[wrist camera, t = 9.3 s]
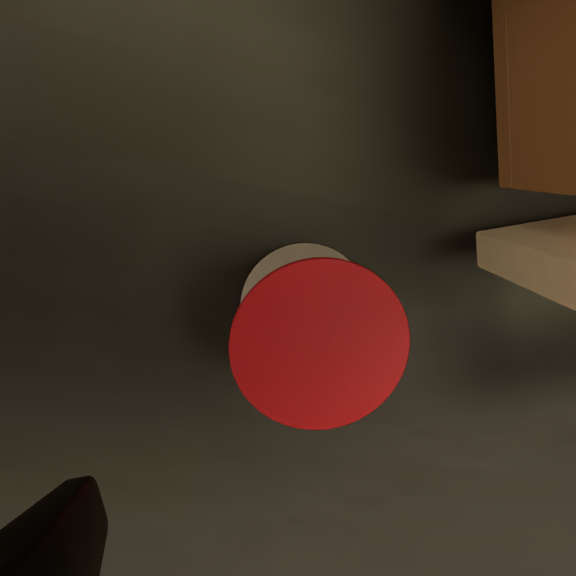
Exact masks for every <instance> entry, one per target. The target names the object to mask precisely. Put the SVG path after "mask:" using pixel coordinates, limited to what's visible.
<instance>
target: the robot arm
mask: <svg viewBox="0 0 576 576" xmlns="http://www.w3.org/2000/svg"><path fill="white" fill-rule="evenodd" d="M107 531H108V520H107V515H106V511H105V508H104V505H103V501H102V498H101V495H100V491H99V488H98V485H97V482H96V480H95V479H94V478H93V477H92V476H84V477H78V478H73V479H69V480H66V481H65V482H63V483H62V484H61V485H59V486H58V487H57V488H55V489H54V490H53V491H51V492H50V493H49V494H47V495H46V496H45V497H43V498H42V499H41V500H39V501H38V502H37V503H35V504H34V505H33V506H31V507H30V508H29V509H27V510H26V511H25V512H23V513H22V514H21V515H19V516H18V517H17V518H15V519H14V520H13V521H11V522H10V523H9V524H7V525H6V526H5V527H3V528H2V529H1V530H0V576H99V575H100V570H101V564H102V559H103V553H104V548H105V542H106V537H107Z"/></svg>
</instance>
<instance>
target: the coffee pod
mask: <svg viewBox="0 0 576 576" xmlns="http://www.w3.org/2000/svg"><path fill="white" fill-rule="evenodd" d="M409 348H410V332H409V325H408V321H407V317H406V314H405V311H404V308H403V306H402V304H401V303H400V301H399V299H398V297H397V296H396V294H395V293H394V292H393V290H392V289H391V288H390V287H389V286H388V285H387V284H386V283H385V282H384V281H383V280H382V279H381V278H380V277H379V276H377V275H376V274H375V273H373V272H372V271H370V270H369V269H367V268H365V267H363V266H361V265H359V264H356V263H354V262H351V261H349V260H348V259H347V258H346V257H345V256H343V255H342V254H341V253H339V252H337V251H335V250H334V249H331V248H329V247H326V246H323V245H319V244H312V243H298V244H292V245H288V246H285V247H282V248H280V249H277V250H275V251H273V252H272V253H270V254H268V255H267V256H266V257H264V258H263V259H262V260H261V261H260V262H259V263H258V264H257V265H256V266H255V267H254V269H253V270H252V271H251V273H250V274H249V276H248V278H247V280H246V282H245V285H244V287H243V291H242V295H241V303H240V305H239V307H238V309H237V311H236V314H235V316H234V319H233V322H232V326H231V330H230V337H229V359H230V365H231V369H232V372H233V375H234V378H235V380H236V382H237V384H238V386H239V388H240V390H241V391H242V393H243V394H244V396H245V397H246V398H247V399H248V401H249V402H250V403H251V404H252V405H253V406H254V407H255V408H257V409H258V410H259V411H260V412H261V413H263V414H264V415H266V416H267V417H269V418H271V419H273V420H275V421H277V422H279V423H281V424H284V425H287V426H290V427H294V428H299V429H308V430H324V429H331V428H337V427H340V426H344V425H347V424H350V423H352V422H354V421H357V420H359V419H361V418H362V417H364V416H366V415H368V414H369V413H370V412H372V411H373V410H375V409H376V408H377V407H378V406H379V405H380V404H382V403H383V402H384V401H385V400H386V399H387V397H388V396H389V395H390V394H391V393H392V392H393V390H394V388H395V387H396V385H397V384H398V382H399V380H400V378H401V376H402V374H403V372H404V369H405V366H406V364H407V360H408V355H409Z"/></svg>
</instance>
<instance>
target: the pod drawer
mask: <svg viewBox="0 0 576 576" xmlns="http://www.w3.org/2000/svg"><path fill="white" fill-rule="evenodd" d="M492 21H493V45H494V69H495V94H496V118H497V143H498V167H499V186H500V188H507V189H516V190H526V191H535V192H545V193H555V194H564V195H574V196H576V0H492ZM476 247H477V265H478V267H480V268H482V269H484V270H487V271H489V272H491V273H493V274H495V275H498V276H500V277H502V278H504V279H506V280H509V281H511V282H513V283H515V284H517V285H520V286H522V287H524V288H526V289H528V290H530V291H533V292H535V293H537V294H539V295H541V296H544V297H546V298H548V299H550V300H552V301H555V302H557V303H559V304H561V305H563V306H566V307H568V308H570V309H572V310H574V311H576V215H571V216H565V217H560V218H554V219H548V220H542V221H536V222H530V223H524V224H519V225H513V226H507V227H501V228H495V229H489V230H483V231H478V232H476Z"/></svg>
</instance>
